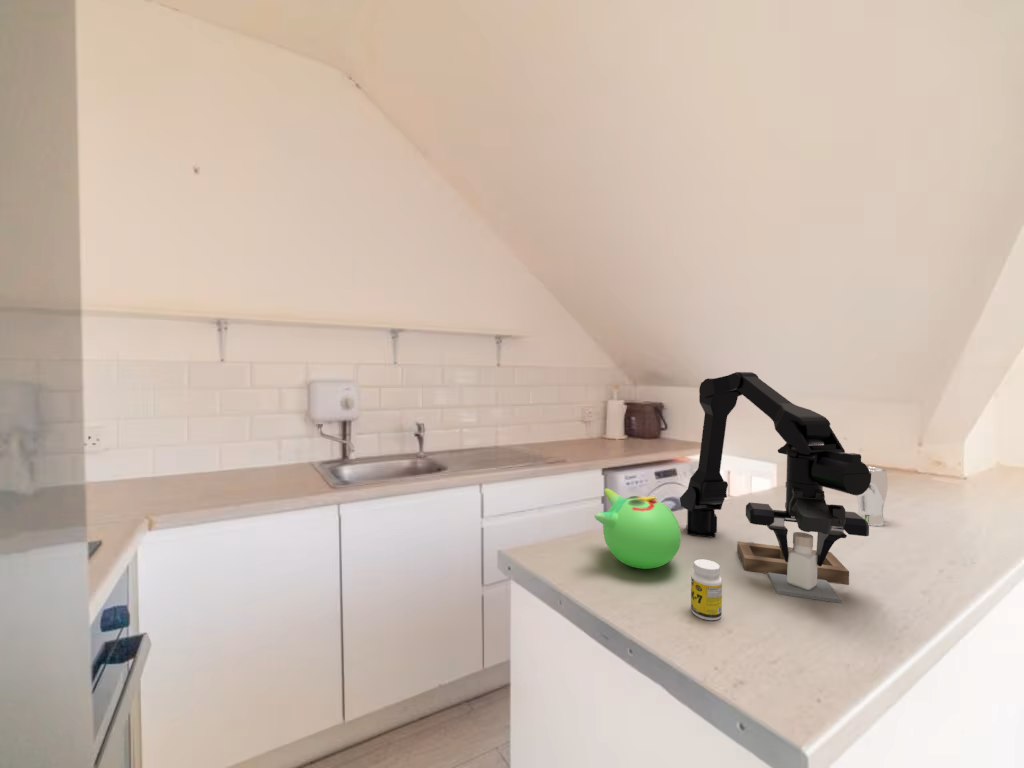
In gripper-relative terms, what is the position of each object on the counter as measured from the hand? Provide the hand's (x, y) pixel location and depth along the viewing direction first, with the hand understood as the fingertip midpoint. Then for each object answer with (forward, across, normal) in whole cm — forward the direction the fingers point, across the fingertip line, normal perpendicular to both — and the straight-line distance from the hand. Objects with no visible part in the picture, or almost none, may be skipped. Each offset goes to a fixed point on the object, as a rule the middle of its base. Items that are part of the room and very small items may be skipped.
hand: (802, 563), depth 84 cm
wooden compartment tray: (+5, 0, +10) cm, 11 cm away
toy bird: (+5, -30, +1) cm, 30 cm away
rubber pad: (+5, 0, 0) cm, 5 cm away
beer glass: (+5, +29, +51) cm, 59 cm away
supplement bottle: (+5, -18, -16) cm, 25 cm away
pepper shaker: (+4, 0, 0) cm, 4 cm away
